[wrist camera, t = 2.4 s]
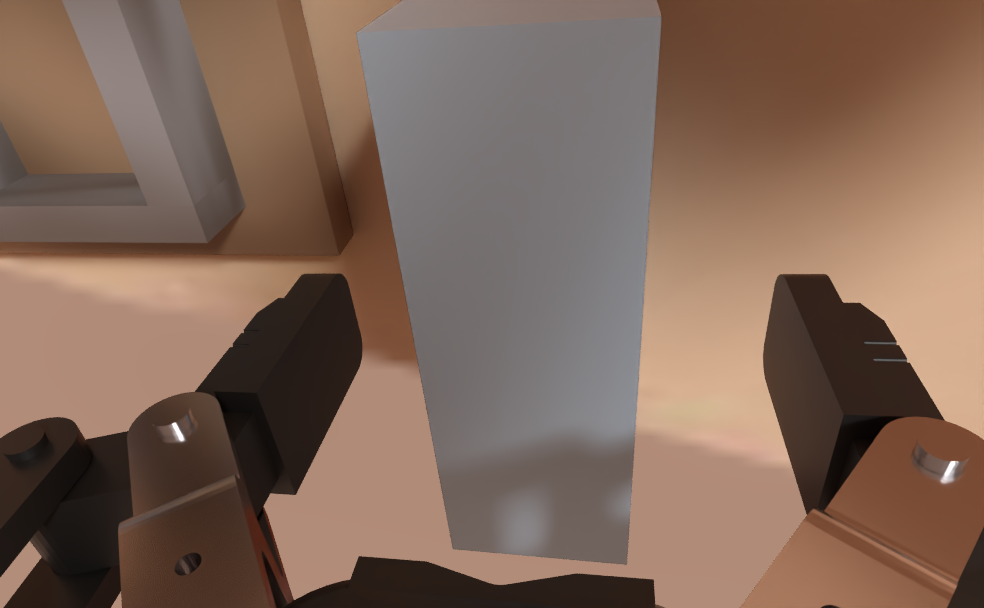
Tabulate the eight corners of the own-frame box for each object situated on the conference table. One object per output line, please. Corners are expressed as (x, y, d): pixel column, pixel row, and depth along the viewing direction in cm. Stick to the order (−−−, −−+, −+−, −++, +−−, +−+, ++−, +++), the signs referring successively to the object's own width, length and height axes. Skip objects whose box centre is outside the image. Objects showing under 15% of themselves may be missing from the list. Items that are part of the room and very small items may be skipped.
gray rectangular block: (475, -51, 14) (355, 32, 8) (638, -63, 13) (661, 16, 7) (506, 320, 20) (453, 549, 13) (622, 323, 19) (627, 564, 13)
